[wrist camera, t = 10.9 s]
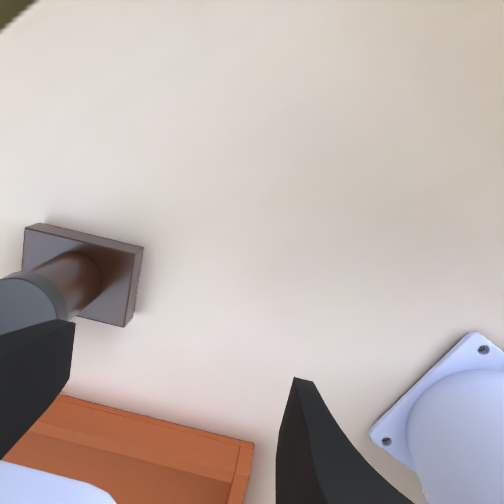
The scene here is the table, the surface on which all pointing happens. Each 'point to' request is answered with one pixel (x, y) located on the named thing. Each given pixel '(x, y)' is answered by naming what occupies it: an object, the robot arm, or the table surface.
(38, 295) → the stamp
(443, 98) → the table surface
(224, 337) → the table surface
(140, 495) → the tray
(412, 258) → the table surface
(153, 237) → the table surface
